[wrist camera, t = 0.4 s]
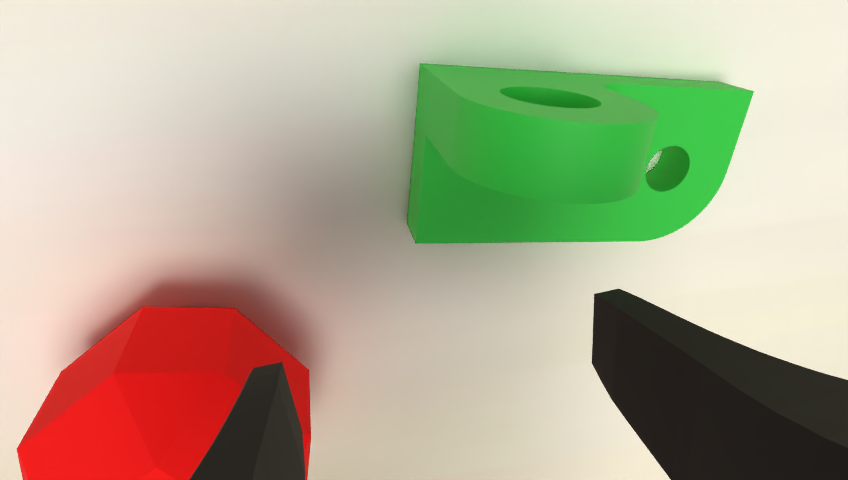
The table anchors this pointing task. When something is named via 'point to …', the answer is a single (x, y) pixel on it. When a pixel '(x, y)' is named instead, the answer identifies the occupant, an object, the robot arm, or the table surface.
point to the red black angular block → (153, 397)
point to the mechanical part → (565, 154)
